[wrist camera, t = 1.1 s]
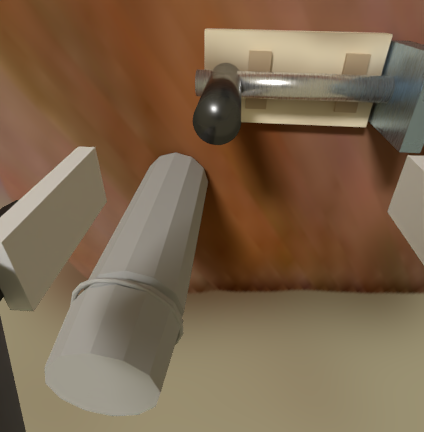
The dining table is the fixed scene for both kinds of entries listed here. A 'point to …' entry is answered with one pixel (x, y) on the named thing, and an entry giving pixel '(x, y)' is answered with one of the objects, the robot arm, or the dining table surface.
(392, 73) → the metal lever handle
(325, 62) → the panel
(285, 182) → the dining table surface
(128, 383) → the water bottle
